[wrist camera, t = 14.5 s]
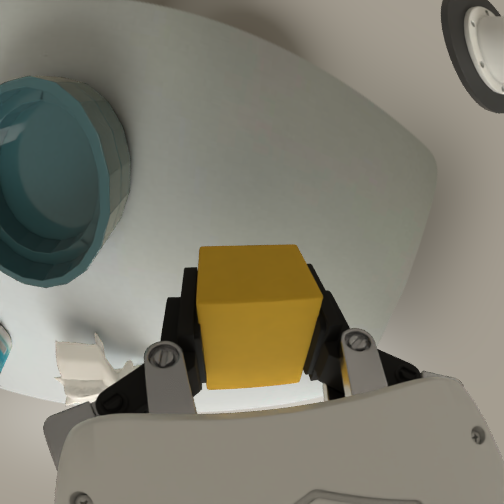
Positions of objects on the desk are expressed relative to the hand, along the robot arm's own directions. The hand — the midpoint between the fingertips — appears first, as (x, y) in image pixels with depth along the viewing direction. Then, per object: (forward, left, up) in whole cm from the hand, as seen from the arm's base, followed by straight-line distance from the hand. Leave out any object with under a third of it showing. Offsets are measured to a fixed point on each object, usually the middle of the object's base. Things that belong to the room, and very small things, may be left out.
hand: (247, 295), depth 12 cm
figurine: (+28, +3, -14) cm, 32 cm away
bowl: (+9, -15, -13) cm, 22 cm away
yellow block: (0, 0, 0) cm, 0 cm away
